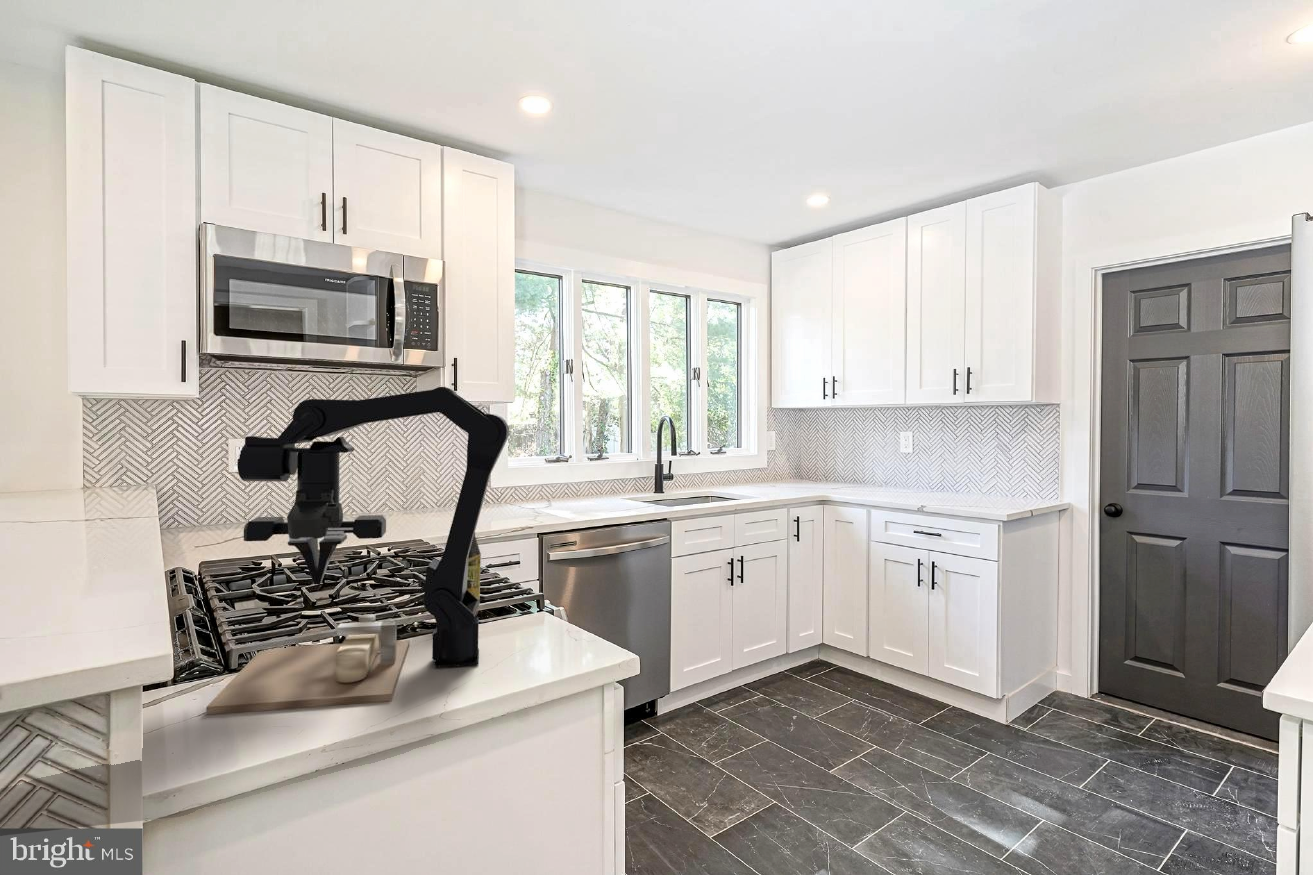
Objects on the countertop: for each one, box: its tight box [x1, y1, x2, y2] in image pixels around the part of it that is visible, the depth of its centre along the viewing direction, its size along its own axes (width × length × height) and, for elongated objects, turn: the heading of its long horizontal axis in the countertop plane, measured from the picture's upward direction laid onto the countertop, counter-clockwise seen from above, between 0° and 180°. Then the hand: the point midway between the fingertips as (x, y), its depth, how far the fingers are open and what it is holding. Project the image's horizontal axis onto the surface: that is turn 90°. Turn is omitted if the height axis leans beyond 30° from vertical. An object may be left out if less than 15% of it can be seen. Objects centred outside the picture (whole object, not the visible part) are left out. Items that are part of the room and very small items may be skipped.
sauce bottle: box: [467, 532, 482, 617], centre depth 129 cm, size 6×6×20 cm
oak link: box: [335, 620, 381, 682], centre depth 101 cm, size 16×5×4 cm, turn 14°
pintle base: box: [205, 613, 411, 716], centre depth 98 cm, size 22×22×7 cm
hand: (317, 583), depth 102 cm, fingers closed
